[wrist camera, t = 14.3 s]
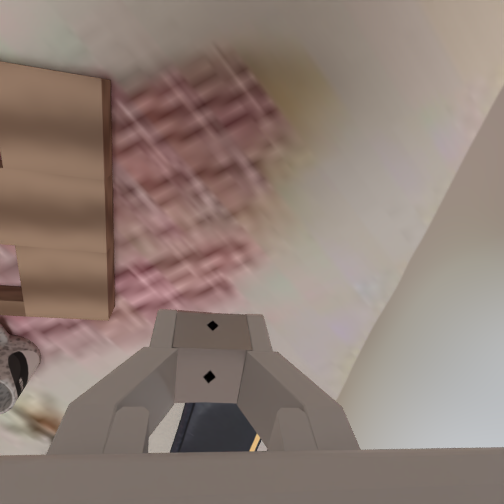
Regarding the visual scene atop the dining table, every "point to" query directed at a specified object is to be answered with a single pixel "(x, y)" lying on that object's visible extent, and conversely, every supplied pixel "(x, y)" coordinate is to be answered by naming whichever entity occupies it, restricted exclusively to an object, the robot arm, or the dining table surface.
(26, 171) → the board
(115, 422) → the robot arm
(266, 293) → the dining table surface
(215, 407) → the wallet
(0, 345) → the mug
